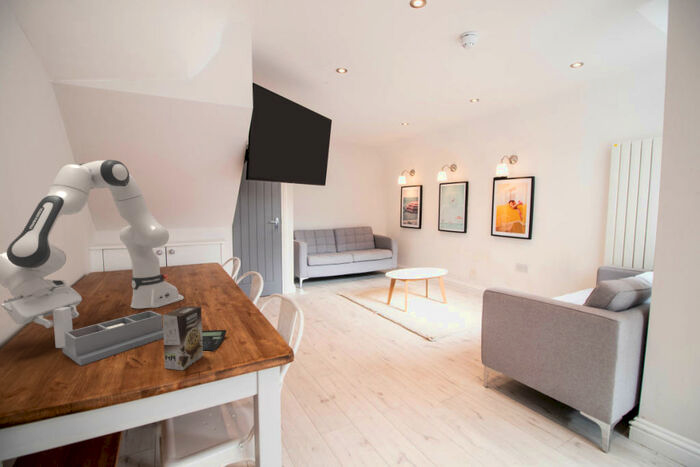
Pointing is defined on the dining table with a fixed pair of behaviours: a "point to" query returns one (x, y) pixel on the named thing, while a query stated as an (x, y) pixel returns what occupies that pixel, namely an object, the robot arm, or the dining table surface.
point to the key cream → (115, 326)
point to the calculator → (212, 339)
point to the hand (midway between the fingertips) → (64, 321)
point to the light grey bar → (62, 324)
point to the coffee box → (182, 337)
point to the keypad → (112, 337)
